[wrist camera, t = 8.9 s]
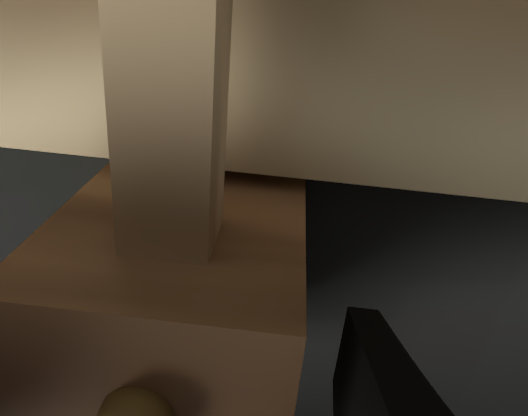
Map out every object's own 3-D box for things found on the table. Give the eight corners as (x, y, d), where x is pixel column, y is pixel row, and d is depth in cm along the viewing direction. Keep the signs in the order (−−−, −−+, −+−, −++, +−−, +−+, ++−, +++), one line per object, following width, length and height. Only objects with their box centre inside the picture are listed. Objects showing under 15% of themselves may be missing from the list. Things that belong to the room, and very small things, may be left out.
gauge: (282, 341, 15) (267, 611, 9) (131, 323, 15) (4, 575, 9) (340, -95, 10) (412, -252, 3) (106, -116, 10) (-269, -300, 3)
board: (838, 212, 12) (908, 243, 10) (-8, 125, 12) (-47, 142, 11) (1124, -190, 8) (1291, -225, 7) (-83, -281, 9) (-153, -329, 7)
